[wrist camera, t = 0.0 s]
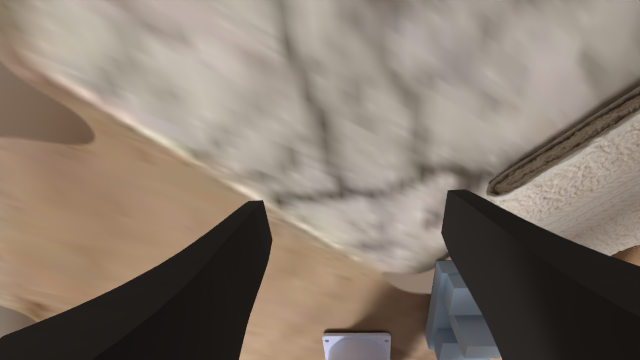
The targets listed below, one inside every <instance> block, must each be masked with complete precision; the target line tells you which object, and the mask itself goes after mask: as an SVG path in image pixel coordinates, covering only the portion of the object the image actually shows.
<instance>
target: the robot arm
mask: <svg viewBox="0 0 640 360" xmlns="http://www.w3.org/2000/svg"><path fill="white" fill-rule="evenodd" d="M441 234H442V236H443V239H444V242H445V245H446V247H447V250H448V252H449V255H450V257H451V259H452V261H453V263H454V264H455V266H456V268H457V270H458V272H459V274H460V275H461V277H462V279H463V281H464V283H465V284H466V286H467V288H468V290H469V292H470V293H471V295H472V297H473V299H474V301H475V302H476V304H477V306H478V308H479V310H480V311H481V313H482V315H483V317H484V319H485V321H486V323H487V325H488V327H489V330H490V332H491V334H492V337H493V339H494V341H495V343H496V346H497V348H498V350H499V353H500V355H501V357H502V360H640V266H637V265H634V264H631V263H628V262H625V261H622V260H620V259H617V258H614V257H611V256H609V255H606V254H603V253H601V252H598V251H596V250H593V249H591V248H588V247H586V246H583V245H581V244H578V243H576V242H573V241H571V240H569V239H566V238H564V237H562V236H559V235H557V234H555V233H553V232H550V231H548V230H546V229H544V228H542V227H540V226H537V225H535V224H533V223H531V222H529V221H527V220H525V219H523V218H521V217H519V216H517V215H515V214H513V213H511V212H509V211H507V210H505V209H503V208H501V207H500V206H498V205H496V204H494V203H492V202H490V201H488V200H486V199H484V198H482V197H480V196H478V195H476V194H474V193H472V192H470V191H467V190H465V189H464V190H448V193H447V199H446V206H445V212H444V219H443V225H442V231H441ZM271 245H272V236H271V232H270V227H269V223H268V219H267V215H266V211H265V206H264V202H263V200H261V201H248V202H247V203H245V204H244V205H242V206H241V207H240V208H238V209H237V210H236V211H234V212H233V213H232V214H231V215H229V216H228V217H227V218H226V219H224V220H223V221H222V222H220V223H219V224H218V225H217V226H215V227H214V228H213V229H211V230H210V231H209V232H207V233H206V234H205V235H203V236H202V237H200V238H199V239H198V240H196V241H195V242H194V243H192V244H191V245H189V246H188V247H186V248H185V249H183V250H182V251H180V252H179V253H177V254H176V255H174V256H173V257H171V258H169V259H168V260H166V261H164V262H163V263H161V264H160V265H158V266H156V267H154V268H153V269H151V270H149V271H147V272H145V273H143V274H141V275H140V276H138V277H136V278H134V279H132V280H130V281H128V282H127V283H125V284H123V285H121V286H119V287H117V288H115V289H113V290H111V291H109V292H107V293H105V294H102V295H100V296H98V297H96V298H94V299H92V300H89V301H87V302H85V303H83V304H81V305H78V306H76V307H74V308H72V309H69V310H67V311H65V312H62V313H60V314H57V315H55V316H52V317H50V318H48V319H45V320H43V321H40V322H38V323H35V324H33V325H30V326H28V327H25V328H23V329H20V330H18V331H15V332H13V333H10V334H7V335H5V336H3V337H1V338H0V360H239V357H240V352H241V348H242V344H243V340H244V335H245V331H246V327H247V323H248V320H249V317H250V313H251V311H252V308H253V305H254V302H255V299H256V296H257V293H258V290H259V287H260V284H261V282H262V279H263V276H264V273H265V270H266V267H267V264H268V260H269V255H270V250H271ZM323 345H324V351H325V357H326V360H390V349H391V335H390V334H389V333H324V334H323Z"/></svg>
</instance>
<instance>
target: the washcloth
mask: <svg viewBox="0 0 640 360" xmlns="http://www.w3.org/2000/svg"><path fill="white" fill-rule="evenodd" d="M487 196H488V197H489V198H490V199H491V202H492V203H494V204H496V205H498V206H500V207H501V208H503V209H505V210H507V211H509V212H511V213H513V214H515V215H517V216H519V217H521V218H523V219H525V220H527V221H529V222H531V223H533V224H535V225H537V226H540V227H542V228H544V229H546V230H548V231H550V232H553V233H555V234H557V235H559V236H562V237H564V238H566V239H569V240H571V241H573V242H576V243H578V244H581V245H583V246H586V247H588V248H591V249H593V250H596V251H598V252H601V253H603V254H606V255H609V256H611V255H613V254H615V253H617V252H618V251H623V250H625V249H627V248H630V247H633V246H635V245H640V86H639V87H638V88H636V89H634V90H633V91H631V92H630V93H628V94H627V95H625V96H623V97H622V98H620V99H619V100H617V101H616V102H614V103H612V104H611V105H609V106H608V107H606V108H604V109H603V110H601V111H600V112H598V113H597V114H595V115H593V116H592V117H590V118H589V119H587V120H586V121H584V122H583V123H581V124H579V125H578V126H576V127H575V128H573V129H572V130H570V131H569V132H567V133H565V134H564V135H563V136H561V137H559V138H558V139H556V140H555V141H553V142H552V143H550V144H549V145H548V146H546V147H545V148H543V149H541V150H539V151H538V152H536V153H535V154H533V155H532V156H530V157H528V158H526V159H525V160H523V161H521V162H520V163H519V164H517V165H515V166H514V167H512V168H510V169H509V170H507V171H506V172H504V173H503V174H501V175H500V176H498V177H497V178H496V179H495V180H493V181H492V182H491V183H490V184H489V186H488V188H487Z"/></svg>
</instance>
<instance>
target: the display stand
mask: <svg viewBox="0 0 640 360" xmlns="http://www.w3.org/2000/svg"><path fill="white" fill-rule="evenodd" d="M425 338H426V341H427V345H428V348H429V349H434V351H435V354H436V357H437V360H490V358H500V356H501V355H500V353H499V350H498V348H497V346H496V343H495V341H494V339H493V337H492V334H491V332H490V330H489V327H488V325H487V323H486V321H485V319H484V317H483V315H482V313H481V311H480V310H479V308H478V306H477V304H476V302H475V301H474V299H473V297H472V295H471V293H470V292H469V290H468V288H467V286H466V284H465V283H464V281H463V279H462V277H461V275H460V274H459V272H458V270H457V268H456V266H455V264H454V263H453V261H452V260H443V261H436V266H435V274H434V280H433V286H432V292H431V299H430V305H429V312H428V318H427V325H426V332H425Z"/></svg>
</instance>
